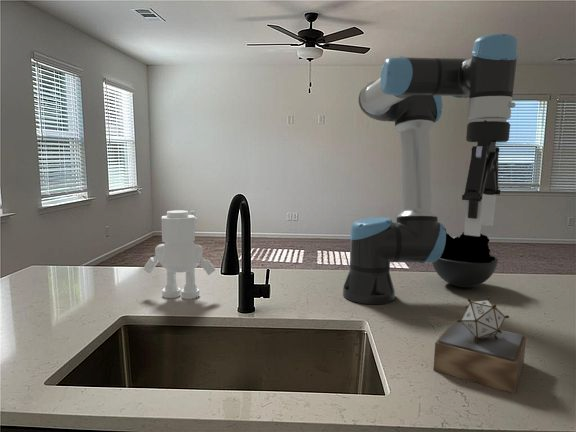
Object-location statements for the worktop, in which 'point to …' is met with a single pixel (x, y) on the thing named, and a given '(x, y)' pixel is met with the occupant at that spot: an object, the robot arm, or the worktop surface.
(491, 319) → the game die
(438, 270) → the coal bowl
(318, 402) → the worktop surface
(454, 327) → the walnut framed square mirror
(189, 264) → the robot toy
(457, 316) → the worktop surface
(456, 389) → the worktop surface
